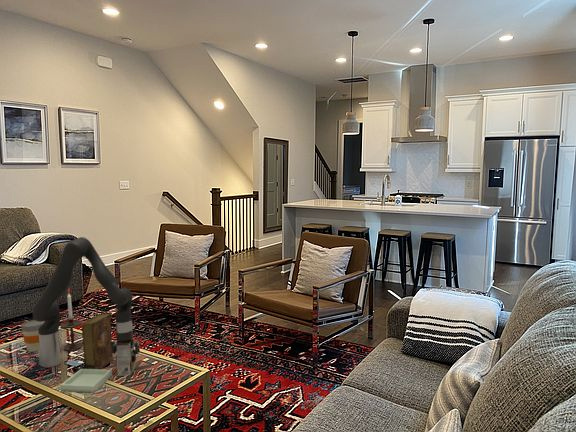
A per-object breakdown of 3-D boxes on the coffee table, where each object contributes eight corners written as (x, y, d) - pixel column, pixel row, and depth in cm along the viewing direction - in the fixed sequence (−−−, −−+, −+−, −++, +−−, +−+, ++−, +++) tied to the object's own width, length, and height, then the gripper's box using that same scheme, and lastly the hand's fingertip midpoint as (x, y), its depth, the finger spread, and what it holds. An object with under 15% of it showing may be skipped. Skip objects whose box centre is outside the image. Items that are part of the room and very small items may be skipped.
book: (105, 358, 230) (102, 313, 227) (114, 359, 229) (111, 313, 226) (84, 372, 214) (81, 324, 211) (94, 373, 213) (91, 324, 210)
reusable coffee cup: (37, 342, 253) (35, 318, 251) (54, 345, 249) (52, 320, 247) (18, 351, 241) (15, 325, 239) (35, 354, 237) (33, 327, 235)
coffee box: (122, 367, 219) (120, 337, 217) (135, 366, 219) (134, 336, 217) (117, 376, 209) (115, 344, 208) (131, 375, 210) (129, 343, 208)
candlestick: (73, 343, 251) (68, 284, 247) (87, 345, 248) (83, 285, 244) (57, 350, 241) (52, 289, 237) (72, 353, 237) (68, 291, 234)
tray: (60, 391, 196) (60, 384, 196) (81, 374, 212) (81, 368, 211) (93, 392, 194) (93, 386, 194) (112, 375, 210) (111, 369, 210)
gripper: (106, 332, 209) (108, 364, 211) (134, 332, 207) (136, 365, 209) (114, 326, 216) (116, 357, 218) (141, 327, 215) (143, 358, 217)
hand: (126, 361), depth 214 cm, fingers closed on coffee box, 7 cm apart
